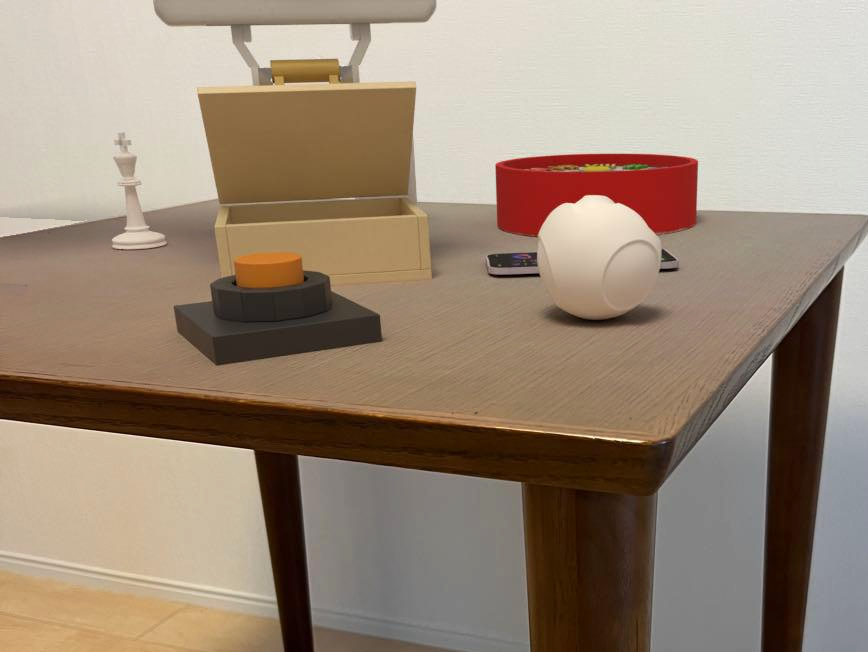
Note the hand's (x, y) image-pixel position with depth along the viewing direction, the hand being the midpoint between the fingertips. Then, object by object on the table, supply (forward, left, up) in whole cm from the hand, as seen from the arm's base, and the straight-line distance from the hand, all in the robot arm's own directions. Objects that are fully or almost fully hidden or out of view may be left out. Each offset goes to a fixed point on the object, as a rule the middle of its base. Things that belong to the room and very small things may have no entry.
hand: (306, 92), depth 82 cm
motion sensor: (+9, -27, -14) cm, 31 cm away
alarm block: (-10, -20, -13) cm, 26 cm away
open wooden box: (0, 0, -13) cm, 13 cm away
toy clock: (+32, +10, -14) cm, 36 cm away
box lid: (0, +1, -4) cm, 4 cm away
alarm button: (-10, -20, -10) cm, 24 cm away
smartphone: (+18, -10, -14) cm, 25 cm away
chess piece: (-10, +24, -14) cm, 29 cm away
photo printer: (+15, +24, -14) cm, 32 cm away
